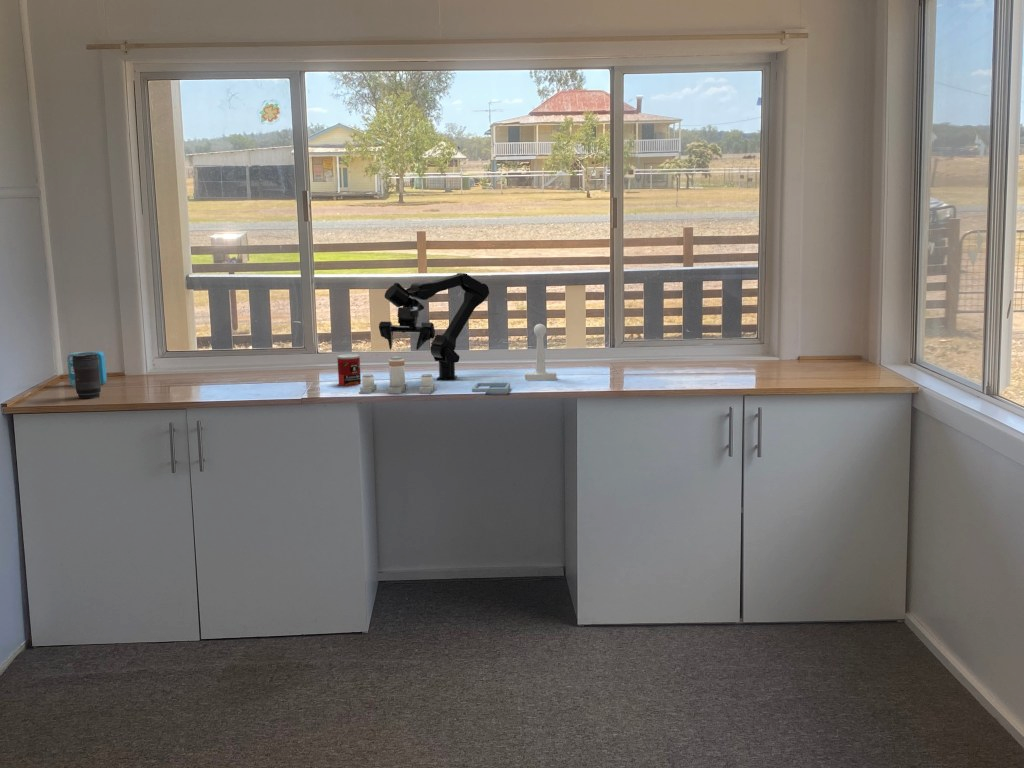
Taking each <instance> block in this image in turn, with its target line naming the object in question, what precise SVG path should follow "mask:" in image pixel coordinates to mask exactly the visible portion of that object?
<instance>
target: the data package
mask: <svg viewBox="0 0 1024 768" xmlns="http://www.w3.org/2000/svg"><path fill="white" fill-rule="evenodd" d="M86 352H87V351H78V352H75V351H74V352H72V353H70V354H68V355H67V357H66V360H67V361H66V362H67V371H68V379H69V380H68V381H69V382H68V383H69V385H70V386H72V387H74V386H75V374H74V369H73V360H72V358H73V355H74V354H78V353H86ZM94 352H95V353H97V356H98V361H99V376H100V384H101V386H102V385H103V384H104V385H105V383H106V382H107V380H108V378H107V367H106V357H105V353H104V352H103V351H100V350H99V351H94Z"/></svg>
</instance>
